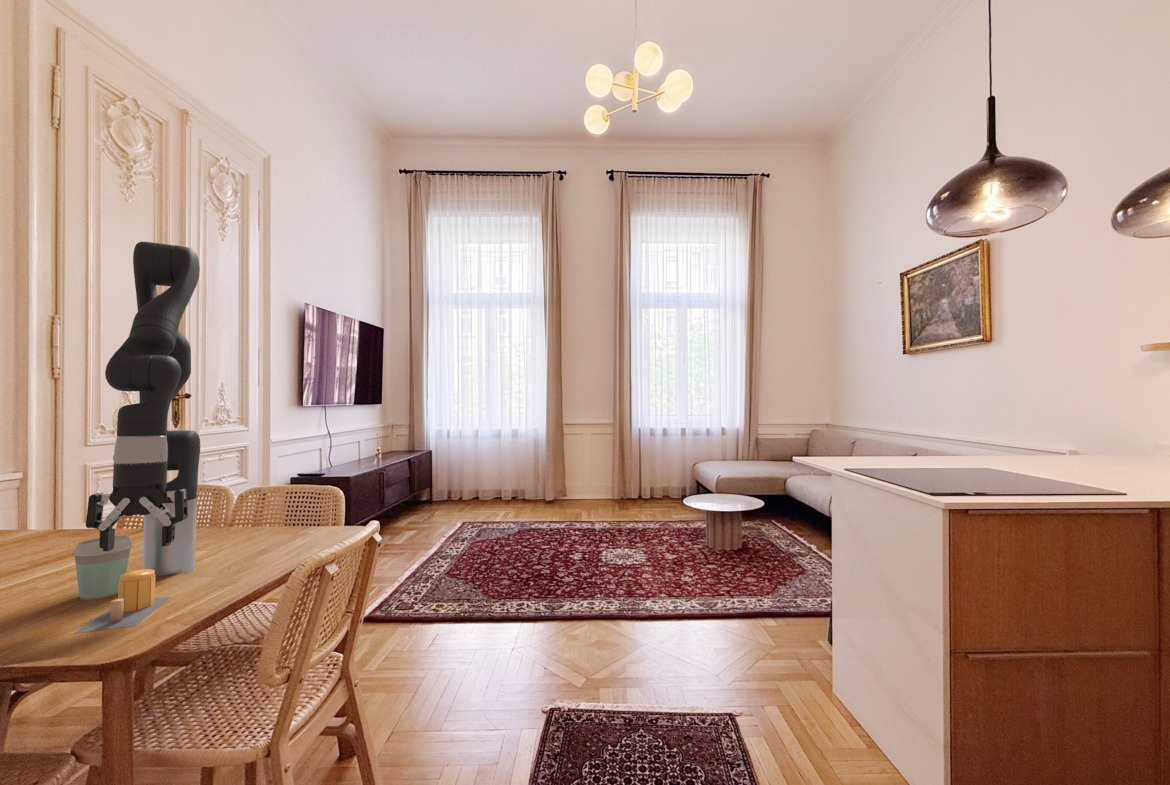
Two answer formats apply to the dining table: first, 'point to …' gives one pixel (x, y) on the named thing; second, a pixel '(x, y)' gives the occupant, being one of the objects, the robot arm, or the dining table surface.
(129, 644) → the dining table surface
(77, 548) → the coffee cup
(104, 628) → the board
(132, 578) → the wire nut
